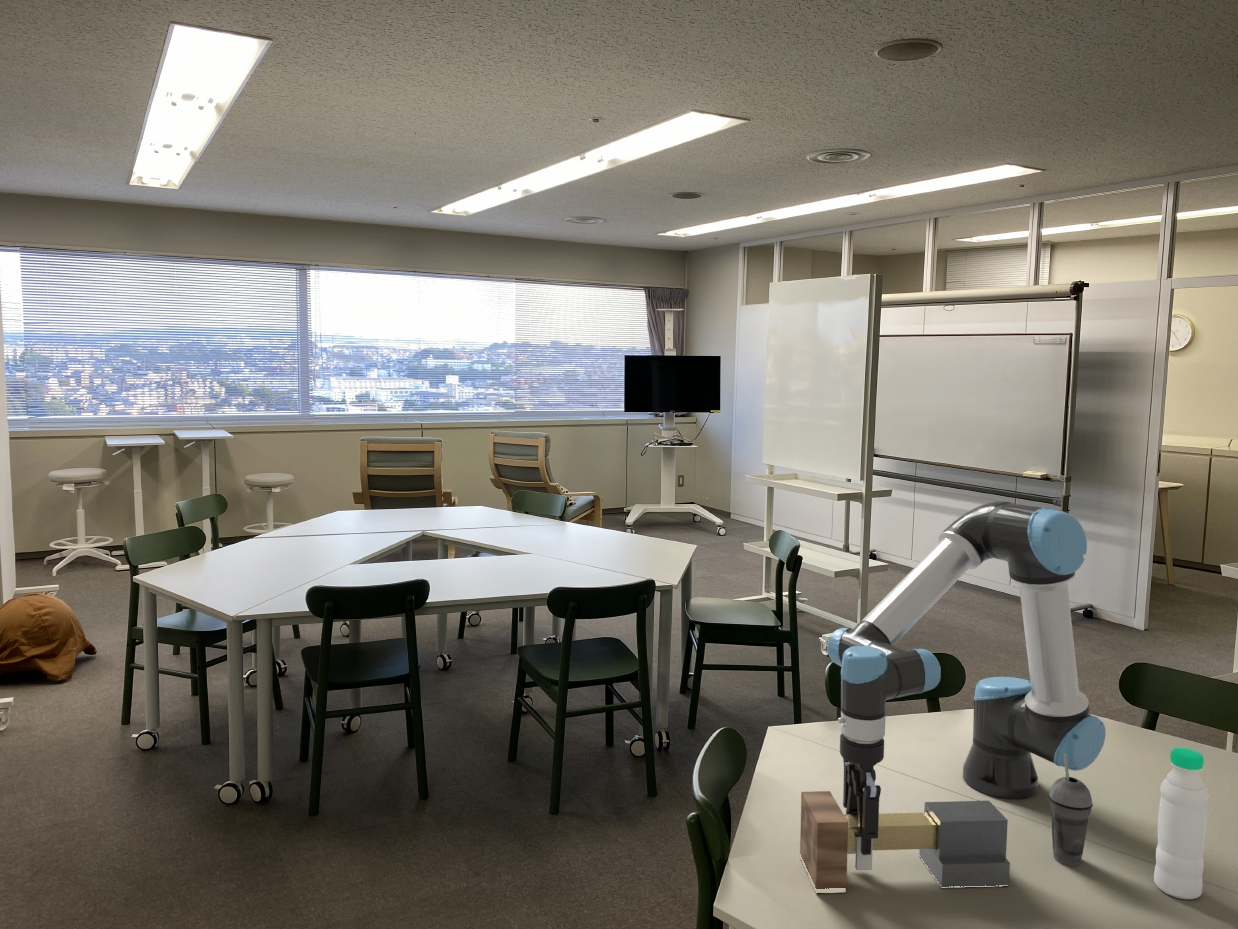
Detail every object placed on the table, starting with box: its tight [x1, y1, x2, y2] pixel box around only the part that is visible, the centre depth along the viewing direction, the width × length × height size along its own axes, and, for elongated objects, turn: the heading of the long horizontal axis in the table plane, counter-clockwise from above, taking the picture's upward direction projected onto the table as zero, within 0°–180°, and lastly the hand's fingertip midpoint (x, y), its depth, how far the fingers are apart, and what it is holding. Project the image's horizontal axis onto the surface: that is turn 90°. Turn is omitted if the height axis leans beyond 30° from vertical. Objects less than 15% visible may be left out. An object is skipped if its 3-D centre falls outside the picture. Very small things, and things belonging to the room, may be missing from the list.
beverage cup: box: [1048, 754, 1094, 867], centre depth 159 cm, size 7×7×20 cm
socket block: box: [799, 790, 848, 889], centre depth 155 cm, size 11×5×13 cm, turn 3°
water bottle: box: [1153, 747, 1210, 900], centre depth 150 cm, size 7×7×25 cm
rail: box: [843, 812, 938, 851], centre depth 155 cm, size 4×22×4 cm, turn 93°
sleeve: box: [918, 800, 1011, 888], centre depth 156 cm, size 10×12×12 cm
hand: (858, 860), depth 155 cm, fingers closed on rail, 4 cm apart
